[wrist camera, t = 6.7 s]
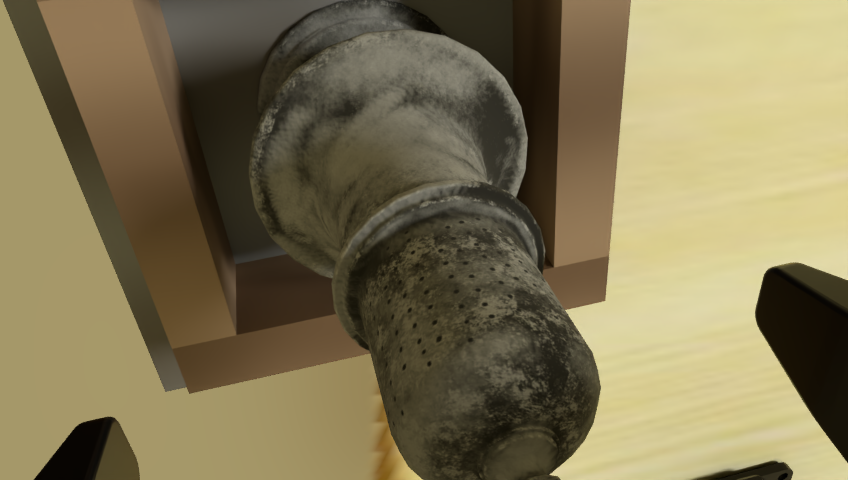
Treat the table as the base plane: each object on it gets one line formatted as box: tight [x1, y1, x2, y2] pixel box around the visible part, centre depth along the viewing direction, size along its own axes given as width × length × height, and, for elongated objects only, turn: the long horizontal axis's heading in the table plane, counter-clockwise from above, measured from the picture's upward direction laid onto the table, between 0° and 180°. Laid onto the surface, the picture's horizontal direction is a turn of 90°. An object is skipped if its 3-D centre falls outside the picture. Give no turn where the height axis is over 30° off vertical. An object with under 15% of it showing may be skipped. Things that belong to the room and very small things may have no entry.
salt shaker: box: [249, 0, 601, 480], centre depth 12 cm, size 6×6×12 cm
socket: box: [3, 0, 631, 393], centre depth 16 cm, size 16×14×4 cm
